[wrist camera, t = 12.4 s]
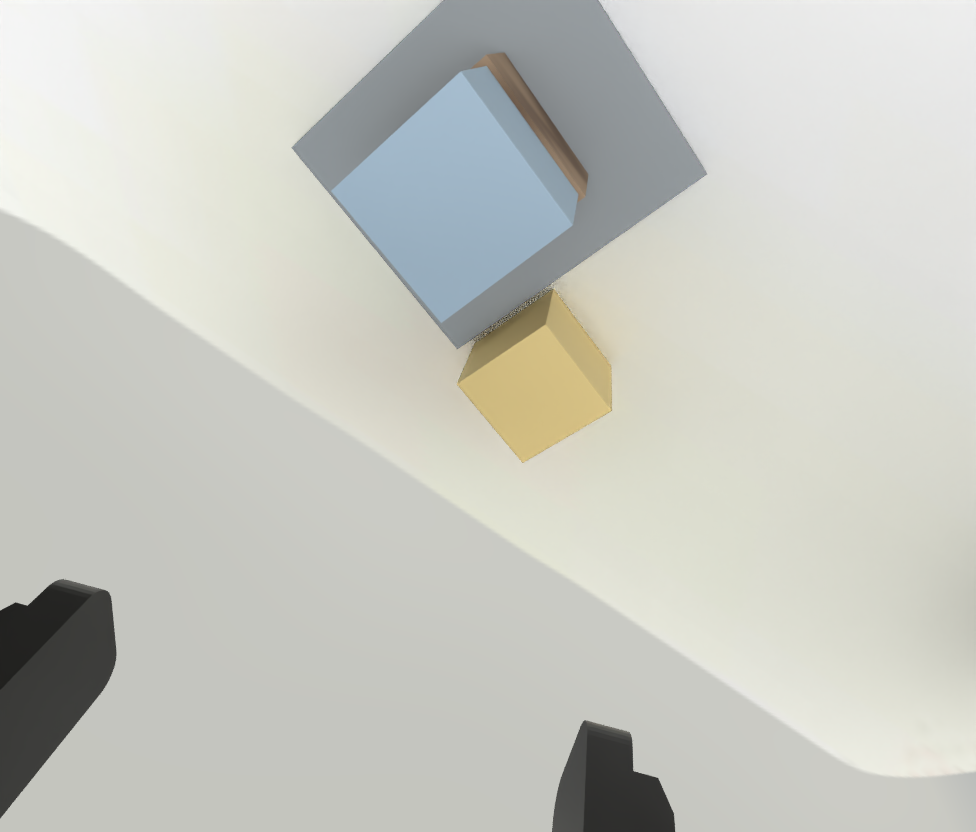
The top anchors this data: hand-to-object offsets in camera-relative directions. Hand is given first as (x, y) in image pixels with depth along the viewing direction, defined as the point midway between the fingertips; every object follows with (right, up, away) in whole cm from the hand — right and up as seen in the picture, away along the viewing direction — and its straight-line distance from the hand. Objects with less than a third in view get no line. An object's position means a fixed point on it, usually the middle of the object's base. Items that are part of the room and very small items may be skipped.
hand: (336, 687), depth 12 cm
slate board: (+3, +16, +20) cm, 26 cm away
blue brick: (+2, +13, +15) cm, 20 cm away
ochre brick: (+5, +8, +24) cm, 26 cm away
